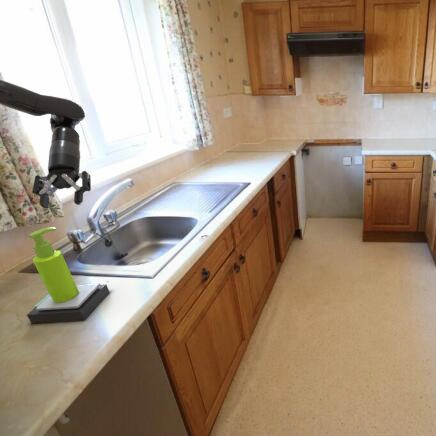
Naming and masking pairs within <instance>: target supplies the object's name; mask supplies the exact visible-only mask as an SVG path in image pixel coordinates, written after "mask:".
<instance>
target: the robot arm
mask: <svg viewBox="0 0 436 436" xmlns="http://www.w3.org/2000/svg"><path fill="white" fill-rule="evenodd" d="M0 105H1V106H4V107H6V108H9V109H11V110H15V111H17V112H21V113H24V114H27V115H31V116H33V117H43V116H46V115H50V117H49V125H50V130H51V143H50V147H49V152H48V164H47V175H46V176H45V175H44V176H41V175H39V174H36V175H35V176H34V181H33V186H32V194H34V195H36V196H38V197H39V202H38V203H39V206H40V207H42V208H43V209H49V207H50V206H49V205H50V196H52V194H53V193H56V192H57V191H58V190H64V189H71V188H73V189H74V190H75V191H74V194H73V195H74V196H73V203H74V204H75V205H77V206H79V205H82V203H83V201H84V194H85V193H86V192H90V191H91V190H92V187H91V185H92V183H91V180H92V179H91V174H90V173H89V172H87V170H82V171H81V172H80V167H81V166H80V163H81V149H80V147H81V136H80V133H79V131H78V130H76V128H77V126H78V125H79V124H80V123H81V122H82V121H83V120H84V119H85V117H86V111H85V109H84V108H83V107H82V105H80V104H78V103H77V102H75V101H74V100H71V99H68V98H63V97H58V96H53V95H47V94H41V93H39V92H36V91H34V90H31V89H28V88H25V87H22V86H19V85H18V84H14V83H11V82H8V81H5V80H2V79H0ZM80 179H81V186H80V185H79V184H78V183H77V182H78V181H79V180H80Z"/></svg>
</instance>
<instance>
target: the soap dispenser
mask: <svg viewBox="0 0 436 436" xmlns="http://www.w3.org/2000/svg"><path fill="white" fill-rule="evenodd" d="M53 231H56V227H53V226H51V227H49V226H48V227H44V228H41V229H38V230H35V231H34V232H32V233H29V234H28V235H27V236H28V237H29V238H30V239H33V240H34V243H35V244H34V245H33V246H32V248H33V250H34V252H35V255H36V256H34V258H33V259H32V262H33V265H34V266H35V268H36V270H37V272H38V274H39V276H40V278H41V280H42V282H43V284H44V286H45V288H46V290H47V292H48V294H50V296H51V298H52V300H53V301H54V302H55V303H61V302H65V301H68V300H70V299H72V298H74V297H75V296H77V295H78V293H79V290H78V288H77V286H76V285H77V283H76V282H75V279H74V277H73V275H72V273H71V271H70V269H69V266H68V263H67V262H66V260H65V257H64V255H63V253H62V251H61V250H59V249H58V250H57V249H56V250H55V249H54V248H53V246H52V244H51V242H50V241H49V240H45V239H44V237H43V235H44V234H46V233H49V232H53Z"/></svg>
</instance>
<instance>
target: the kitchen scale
mask: <svg viewBox="0 0 436 436" xmlns="http://www.w3.org/2000/svg"><path fill="white" fill-rule="evenodd" d="M76 286H77V288H78V290H79V293H78V295H77V296H75V297H74V298H72V299H70V300H68V301H65V302H61V303H55V302H54V301H53V300H52V298H51V296H50V294H49V293H48V294H46V296H44V297H43V298H42V299H41V300H39V301H38V302H37V303H36V304H35V305H34V306H33V309H32V310H30V311H29V312H28V313H27V314H26V317H27V318H28V320H29V322H30V324H46V323H47V324H48V323H61V322H62V323H63V322H65V323H66V322H75V321H76V322H78V321H79V322H81V321H85V320H86V319H88V318H89V316H90V315H91V313H92V312H94V311H95V309H96V308H97V307H98V306H99V305H100V304H101V303H102V302H103V301H104V300H105V298H106V297H107V296H108V295H109V294H110V289H109V287H108V285H107V284H105V283H104V284H103V283H102V284H100V283H86V284H76Z"/></svg>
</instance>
